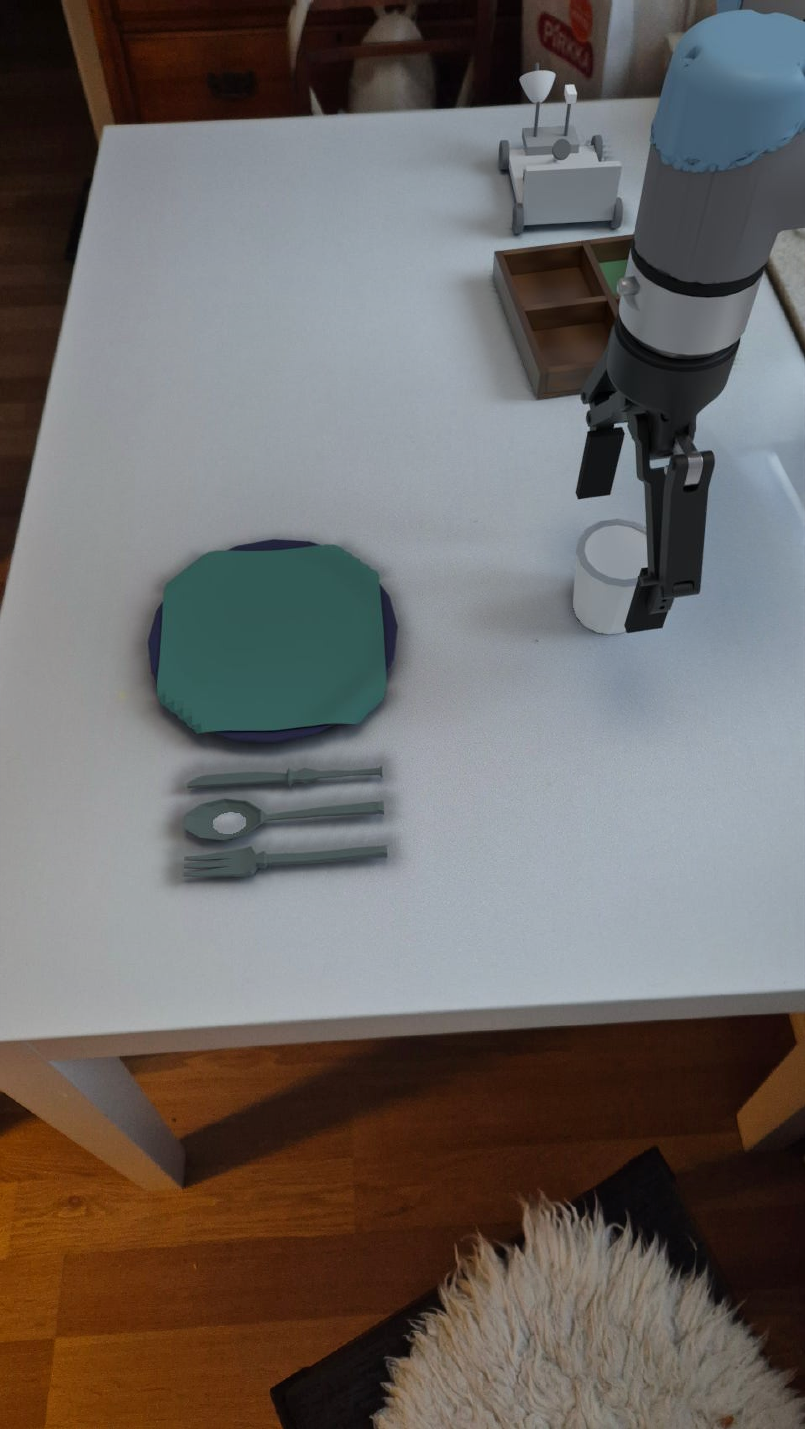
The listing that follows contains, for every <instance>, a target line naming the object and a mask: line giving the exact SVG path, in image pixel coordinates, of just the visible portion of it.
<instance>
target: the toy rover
mask: <svg viewBox="0 0 805 1429" xmlns="http://www.w3.org/2000/svg"><path fill="white" fill-rule="evenodd" d="M534 68H535V70H533V71H530V72H526V73H524V74H523V75H521V76H520V77H519V83H520V85H521V87H522V89H523V91H524V94H525V95H526V97H527V98H528V99H529V100H530V102H532V103H533V104H535V112H534V113H535V114H534V123H533V127H522V131H521V138H522V145H523V147H524V149H523V148H521V149H520V148H519V149H510V143H509V140H508V139H502V140H499V144H498V145H499V146H498V165H499V166H498V167H499V170H501V171H508V170H509V174H510V180H511V183H512V187H513V192H514V196H515V201H516V202H515V203H513V205H512V206H513V207H512V214H511V215H512V219H511V221H512V223H511V224H512V230H513V234H515V235H518V234H522V233H523V232H524V227H525V226H535V225H550V224H569V223H571V224H572V223H587V222H588V223H589V222H604V221H608V222H609V226H610V228H611V229H620V227H621V226H622V223H623V216H624V204H623V200H622V198H621V197H617V196H618V191H619V186H620V180H621V174H622V168H623V165H622V161H621V160H607V161H606V160H605V161H604V160H603V161H602V159H603V152H604V143H603V137H602V135H601V134H594V135H592V138H591V141H590V145H580V141H579V137H578V134H577V130H576V127H575V125H574V124H573V125H569V124H570V117H571V110H572V109H571V108H572V104H574V105H575V104H577V99H578V98H577V97H578V92H577V90H576V86H575V84H571V83H567V84H565V85H564V90H563V91H564V93H563V96H564V99H565V102H566V105H567V106H566V114H565V121H564V122H565V123H564V125H554V126H553V125H551V126H539V117H540V107H541V104H542V103H543V102H545V100H546V99H547V97H548V96H549V94H550V93H551V90H552V88H553V85H554V82H555V79H556V77H557V76H556V73H555V72H554V71H550V70H540V63H539V62H535V63H534Z"/></svg>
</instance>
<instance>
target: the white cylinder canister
mask: <svg viewBox="0 0 805 1429" xmlns="http://www.w3.org/2000/svg"><path fill="white" fill-rule="evenodd" d="M577 539H578V540H577V544H576V550H575V563H574V564H575V565H574V580H573V581H574V582H573V596H572V608H574V609H573V612H574V611H575V612H574V615H575V614H576V615H575V618H576V617H577V618H578V619H579V620H580V621H579V620H578V619H577V618H576V619H577V620H578V621H579V623H581V625H583V627H585V628H586V629H589V630H590V631H592V630H593V632H594V631H595V632H594V633H597V634H602V633H603V634H604V635H608V636H610V635H617V634H623V633H625V632H626V629H625V626H624V624H625V621H626V617H627V614H628V611H629V608H630V604H631V601H632V598H633V594H634V591H635V588H636V584H637V581H638V576H639V574H640V571H641V568H646V567H648V560H647V536H646V525H642V524H640V523H638V522H636V521H633V520H627V519H621V518H613V519H605V520H600V521H598V522H597V523H594V524H592V525H590V526H589V527H586V529H585V530H584V531H583V532H582V534H581V535H580V536H579V537H578V538H577ZM603 634H602V635H603Z"/></svg>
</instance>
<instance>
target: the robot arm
mask: <svg viewBox="0 0 805 1429" xmlns="http://www.w3.org/2000/svg"><path fill="white" fill-rule="evenodd" d="M649 136H650V137H649V142H650V144H649V149H648V155H647V161H646V165H645V166H646V167H645V171H644V176H643V183H642V189H641V193H640V198H639V205H638V209H637V216H636V219H635V224H634V231H633V233H632V234H633V238H632V243H631V249H630V253H629V258H628V263H627V268H626V273H625V277H624V278H620V279H619V281H618V282H617V292H618V293H619V294H620V295H621V298H620V303H619V312H618V314H617V316H616V319H615V323H614V325H613V327H612V330H611V333H610V337H609V341H608V345H607V348H606V349H605V351H604V353H603V354H602V356H601V358H600V359H599V361H598V363H597V364H596V366H595V368H594V370H593V371H592V373H591V375H590V376H589V378H588V380H587V381H586V383H585V385H584V386H583V388H582V390H581V394H580V400H581V403H582V404H583V405H588V406H589V410H587V411H586V416H585V422H586V424H587V427H588V428H589V429H588V431H587V433H586V437H585V441H584V442H585V443H584V447H583V451H582V457H581V462H580V467H579V471H578V472H579V473H578V478H577V483H576V488H575V495H576V498H577V500H584V499H585V500H586V499H592V498H599V497H605V496H611V494H612V490H613V486H614V481H615V477H616V474H617V469H618V465H619V461H620V456H621V453H622V448H623V444H624V443H623V442H624V440H625V435H626V433H625V430H624V428H623V426H618V427H615V425H617V424H624V423H627V425H626V428H627V430H628V432H629V434H630V437H631V440H632V441H633V442H634V449H635V470H636V472H635V473H636V478H637V480H639V481H640V482H642V483H643V487H644V507H645V508H644V510H645V527H646V536H647V560H648V567H646V568H641V571H640V574H639V576H638V581H637V584H636V588H635V591H634V594H633V598H632V601H631V604H630V608H629V611H628V614H627V617H626V621H625V624H624V626H625V629H626V631H625V632H626V634H631V633H633V634H634V633H637V632H638V633H639V632H645V631H646V632H647V631H652V630H659V629H663V628H664V625H665V622H666V619H667V616H668V614H669V612H670V610H671V609H672V607H673V604H674V601H675V599H676V598H683V597H689V596H697V595H699V594H700V593H701V587H702V575H703V561H704V552H705V551H704V550H705V549H704V548H705V537H706V525H707V511H708V501H709V488H710V484H711V481H712V477H713V473H714V469H715V464H716V458H715V453H714V452H713V450H712V449H710V450H709V449H708V450H701V451H699V450H698V449H697V447H696V445H695V444H694V440H695V436H696V431H697V416H698V415H699V413H701V411H702V410H704V409H705V408H706V407H707V406H708V405H709V404H711V403H712V402H713V401H715V400H716V399H717V398H718V397H719V396H720V395H721V394H722V393H723V391H724V390H725V388H726V386H727V383H728V381H729V378H730V375H731V372H732V369H733V366H734V362H735V359H736V356H737V353H738V351H739V348H740V344H741V339H742V336H743V334H744V333H745V332H746V328H747V326H748V323H749V321H750V320H749V319H750V317H751V314H752V310H753V307H754V303H755V301H756V297H757V294H758V292H759V288H760V284H761V282H762V278H763V276H764V272H765V270H766V266H767V264H768V261H769V258H770V256H771V253H772V250H773V248H774V245H775V242H776V240H777V238H778V235H779V234H780V233H781V232H785V231H792V230H799V229H805V0H716V14H714V15H711V16H709V17H706V18H704V19H702V20H700V21H698V22H697V23H695V24H694V25H693V26H691V27H690V28H689V29H688V30H687V31H685V33H684V34H683V35H682V37H681V38H680V39H679V41H678V43H677V44H676V46H675V48H674V50H673V52H672V55H671V59H670V62H669V66H668V69H667V72H666V74H665V78H664V81H663V85H662V89H661V93H660V96H659V101H658V103H657V107H656V112H655V114H654V117H653V119H652V122H651V125H650V135H649ZM665 459H669V461H668V464H667V465H666V464H665V466H660V467H653V468H651V461H657V460H659V461H660V460H665Z"/></svg>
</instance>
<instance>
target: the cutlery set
mask: <svg viewBox="0 0 805 1429" xmlns="http://www.w3.org/2000/svg"><path fill="white" fill-rule="evenodd" d="M398 629H399V625H398V622H397V618H396V614H395V611H394V607H393V603H392V600H391V596H390V594H389V593H388V592H387V590H386V589H385V588H384V587H383V586H382V584H381V582H380V574H379V572H378V571H377V570H375V569H374V568H372V567H370V565H369V564H366V563H365V562H362V560H361V558H358V557H356V556H354V555H352V553H351V552H349V551H347V550H345V549H344V547H342V546H339V545H336V544H328V543H327V544H318V543H316V542H313V541H310V540H294V539H279V538H278V539H276V538H273V539H267V540H262V541H255V542H251V543H244V544H238V545H235V546H233V547H230V548H229V549H226V550H225V549H224V550H223V549H222V550H221V549H220V550H211V551H208V552H205V554H201V556H200V557H198V558H197V559H195V561H193V562H192V563H191V564H189V565H188V566H187V567H186V568H184V569H183V570H182V571H180V572H179V573H178V574H177V575H176V576H174V577H172V579H171V580H169V581H168V582H167V583H166V584H165V585H164V588H163V593H162V602H161V603H160V605H159V606H158V608H157V609H156V611H155V615H154V618H153V621H152V625H151V629H150V633H149V636H148V639H147V640H148V641H147V646H148V656H149V664H150V673H151V676H152V677H153V679H154V681H155V682H156V697H157V699H158V700H159V703H160V704H161V706H163V707H165V709H168V710H169V711H170V713H172V714H174V715H176V716H177V717H178V719H179V720H181V721H182V722H184V723H186V725H187V727H188V728H190V729H192V730H193V731H194V733H195V734H204V733H209V732H210V733H213V734H215V735H218V736H220V737H223V738H225V739H229V740H231V741H238V742H239V741H240V742H252V743H253V742H254V743H268V744H276V743H281V742H286V741H291V740H296V739H300V738H306V737H311V736H315V735H317V734H319V733H322V732H323V731H325V730H327V729H329V728H331V727H332V726H334V725H336V724H343V725H359V724H360V723H362V721H363V720H364V719H365V718H366V717H367V716H368V714H369V713H371V712H372V711H373V710H374V709H375V708H376V707H378V706H379V705H380V704H381V703H382V702H383V700H384V699H385V695H386V692H387V673H389V672H388V671H389V670H390V668H391V666H392V664H393V662H394V660H395V655H396V654H395V653H396V646H397V637H398ZM351 776H352V777H354V776H355V777H356V776H380V778H382V779H383V765H381V766H379V767H373V768H363V769H353V770H348V769H347V770H346V769H345V770H343V769H341V770H340V769H333V770H332V769H331V770H316V769H313V768H309V767H303V768H301V769H298V770H292V769H291V768H290V767H288V768H287V771H286V772H285V773H284V772H271V771H270V772H269V771H248V772H247V771H246V772H231V773H230V772H227V773H217V774H216V773H215V774H214V773H213V774H206V775H205V774H204V775H201V776H198V777H195V778H194V779H192V780H190V781H188V782H187V783H186V787H187V789H195V788H196V789H199V788H212V787H226V786H228V787H229V786H243V785H257V784H273V783H287V785H288V786H289V788H291V787H292V785H293V784H295V783H298V782H299V783H302V784H304V785H306V784H309V783H313V782H316V781H317V780H321V779H334V778H335V779H336V778H343V777H351ZM228 812H234V813H240V814H241V815H242V816H243V817H245V818H246V826H245V827H244V828H243V829H241V830H240V831H239V832H236V833H233V834H223V833H219V832H218V831H217V830H215V829H214V828H213V826H214V825H213V820H214V819H215V818H217V817H218V816H219V815H221V814H224V813H228ZM370 815H371V816H372V815H385V806H384V800H380V801H368V802H357V803H348V804H339V805H330V806H329V805H328V806H319V807H313V808H312V807H311V808H306V809H299V810H298V809H297V810H290V811H283V812H276V813H270V814H269V813H268V814H267V813H266V812H265V811H264V810H263V809H261V808H260V807H258V806H256V805H254V804H253V803H251V802H249V801H248V800H245V799H244V800H243V799H233V798H225V797H224V798H221V799H220V798H219V799H216V800H212V801H207V802H203V803H201V804H199V805H197V806H196V807H194V808H193V809H191V810H190V811H189V812H187V813H186V814H184V818H183V829H185V830H186V831H188V832H190V833H191V834H192V835H194V836H196V837H198V838H200V839H209V840H218V841H231V840H233V839H239V838H241V837H244V836H247V835H248V834H250V833H251V832H253V830H255V829H256V828H257V827H258V826H260V825H261V824H264V823H266V822H272V821H273V822H274V821H283V820H297V819H309V818H311V819H312V818H320V817H321V818H324V817H344V816H346V817H347V816H370ZM382 858H383V859H388V845H387V844H384V845H373V846H372V845H371V846H357V847H349V848H342V849H341V848H340V849H331V850H321V851H307V852H282V853H267V852H266V851H265V850H262V851H260V852H258V853H256V852H255V850H254V848H253V847H252V845H250V846H247V847H242V848H236V849H231V850H225V851H219V852H213V853H206V854H199V855H189V856H184V857H183V860H184V861H187V862H188V861H189V862H198V863H186V864H183V869H191V870H192V869H193V870H197V871H185V872H183V874H182V875H183V877H189V878H190V877H191V878H192V877H194V878H198V877H199V878H200V877H201V878H203V877H235V878H237V877H238V878H243V877H244V878H245V877H253V875H254V874H256V872H257V871H258V870H262V869H265V870H266V869H267V868H268V866H272V865H273V866H275V865H305V864H307V865H309V864H322V863H333V862H346V861H353V860H367V859H369V860H370V859H382ZM204 861H205V862H204ZM258 868H260V869H258ZM201 869H203V870H201ZM257 869H258V870H257Z"/></svg>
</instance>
